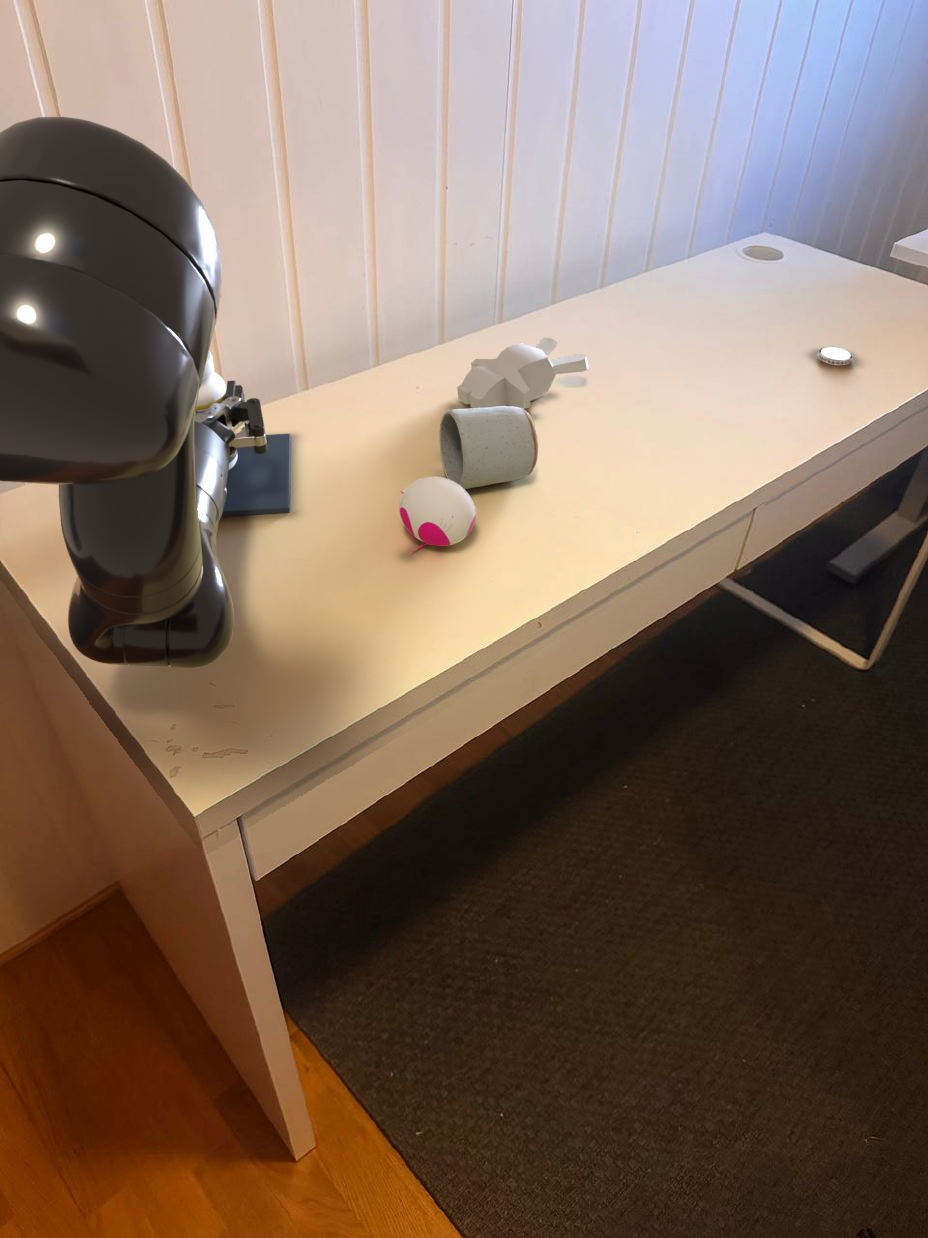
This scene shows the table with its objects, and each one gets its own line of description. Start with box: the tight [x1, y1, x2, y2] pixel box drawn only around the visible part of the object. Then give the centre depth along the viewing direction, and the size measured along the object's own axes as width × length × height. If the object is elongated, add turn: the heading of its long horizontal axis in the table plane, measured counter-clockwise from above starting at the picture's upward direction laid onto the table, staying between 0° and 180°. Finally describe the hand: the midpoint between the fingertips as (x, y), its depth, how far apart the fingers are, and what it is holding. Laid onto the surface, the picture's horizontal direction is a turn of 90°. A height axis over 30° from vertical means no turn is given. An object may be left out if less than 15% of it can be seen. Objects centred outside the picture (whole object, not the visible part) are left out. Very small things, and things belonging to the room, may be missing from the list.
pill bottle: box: [195, 351, 237, 470], centre depth 84 cm, size 6×6×11 cm
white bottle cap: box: [817, 346, 853, 366], centre depth 111 cm, size 4×4×1 cm
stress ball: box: [399, 475, 477, 555], centre depth 80 cm, size 8×8×7 cm
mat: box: [221, 433, 292, 518], centre depth 89 cm, size 14×14×1 cm
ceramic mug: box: [438, 405, 539, 490], centre depth 88 cm, size 11×8×8 cm
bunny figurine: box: [456, 337, 590, 410], centre depth 102 cm, size 10×5×15 cm
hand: (196, 391), depth 85 cm, fingers closed on pill bottle, 6 cm apart
